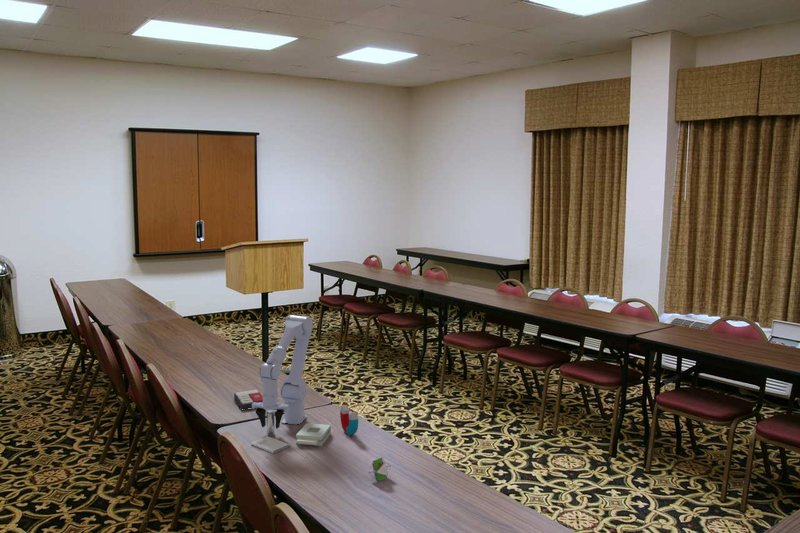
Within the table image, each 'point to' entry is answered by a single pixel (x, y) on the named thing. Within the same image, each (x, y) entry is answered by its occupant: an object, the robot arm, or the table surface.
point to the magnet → (348, 420)
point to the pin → (270, 423)
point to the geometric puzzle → (379, 469)
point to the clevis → (313, 434)
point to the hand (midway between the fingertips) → (270, 427)
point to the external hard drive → (270, 444)
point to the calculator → (247, 398)
